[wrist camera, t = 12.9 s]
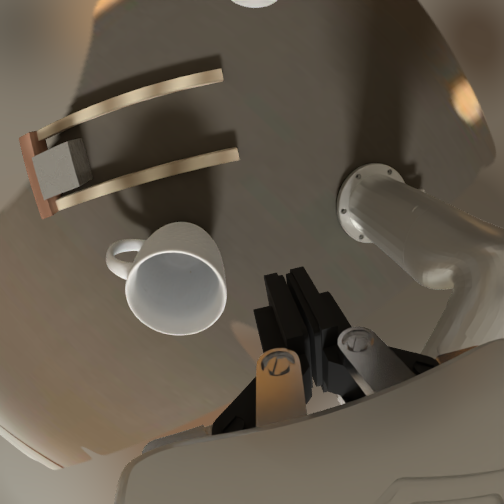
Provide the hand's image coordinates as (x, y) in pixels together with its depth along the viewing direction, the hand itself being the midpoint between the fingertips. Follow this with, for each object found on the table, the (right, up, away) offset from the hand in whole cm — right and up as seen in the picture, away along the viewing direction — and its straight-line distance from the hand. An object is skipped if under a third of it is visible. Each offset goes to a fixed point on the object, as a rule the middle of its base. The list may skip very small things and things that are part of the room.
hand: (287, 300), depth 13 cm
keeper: (-27, +14, +22) cm, 37 cm away
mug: (-12, +3, +29) cm, 32 cm away
